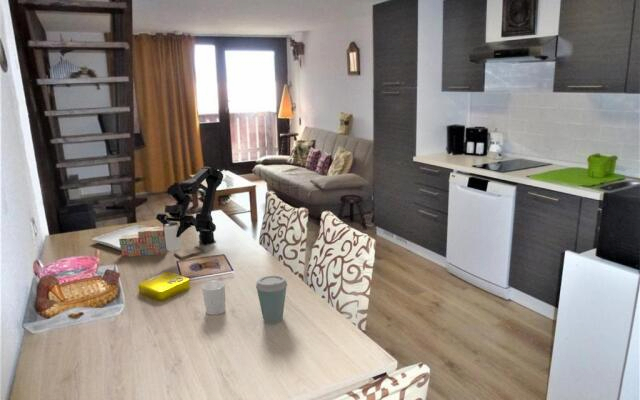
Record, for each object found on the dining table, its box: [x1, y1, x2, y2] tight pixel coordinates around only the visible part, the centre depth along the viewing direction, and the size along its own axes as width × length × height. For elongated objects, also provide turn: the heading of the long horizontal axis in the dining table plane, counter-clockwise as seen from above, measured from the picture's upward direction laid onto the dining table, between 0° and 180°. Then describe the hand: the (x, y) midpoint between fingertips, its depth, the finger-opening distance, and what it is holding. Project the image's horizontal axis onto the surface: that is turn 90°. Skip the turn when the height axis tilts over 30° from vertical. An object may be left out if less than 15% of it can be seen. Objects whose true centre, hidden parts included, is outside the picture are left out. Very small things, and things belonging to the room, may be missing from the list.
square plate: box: [91, 224, 149, 251], centre depth 242 cm, size 27×27×4 cm
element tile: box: [137, 271, 191, 302], centre depth 181 cm, size 15×15×5 cm
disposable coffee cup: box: [255, 274, 288, 325], centre depth 155 cm, size 11×11×15 cm
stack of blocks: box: [119, 226, 169, 258], centre depth 221 cm, size 21×6×12 cm, turn 95°
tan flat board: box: [173, 245, 206, 260], centre depth 220 cm, size 12×8×1 cm, turn 132°
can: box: [164, 221, 182, 252], centre depth 206 cm, size 6×6×12 cm
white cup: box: [201, 280, 226, 316], centre depth 163 cm, size 8×8×10 cm
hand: (170, 236), depth 204 cm, fingers closed on can, 6 cm apart
